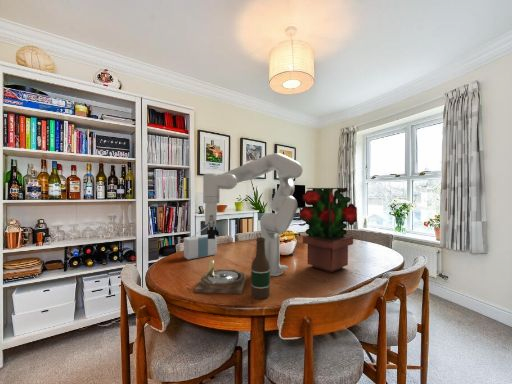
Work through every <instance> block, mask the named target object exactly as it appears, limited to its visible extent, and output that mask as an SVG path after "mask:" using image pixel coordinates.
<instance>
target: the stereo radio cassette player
mask: <svg viewBox="0 0 512 384" xmlns="http://www.w3.org/2000/svg"><path fill="white" fill-rule="evenodd" d="M206 228H208V225H206V227H204V228H202V229H200V230H199V231H198V232H196V233H195V234H194V235H192V236H187V237H183V257H184V258H185V259H186V260H188V261H190V260H193V259H194V260H195V259H200V258H203V257H205V258H206V257H210V256H215V255H216V254H217V252H218V251H217V250H218V238H217V237H218V236H217V235H215V239H208V234H202V235H198V234H199V233H201V232H202V231H203V230H205V229H206Z"/></svg>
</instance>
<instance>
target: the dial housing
mask: <svg viewBox="0 0 512 384" xmlns="http://www.w3.org/2000/svg"><path fill="white" fill-rule="evenodd" d="M218 271H232V272H235V273H237V274H238V280H235V281H232V282H229V283H216V282H210V281H208V275H209V271H207V272H205V273H204V274H202V276H201V278H200V282H199V283H198V284H197V286H196V287H195V289H194V290H195V293H202V294H203V293H204V294H205V293H207V294H208V293H210V294H238V295H240V294H241V295H242V294H243V290H244V288H245V283H246V281H247V276H248V274H247V273H244V272H241V271H239V270H237V269H235V268H234V269H228V268H218V269H214V272H218Z"/></svg>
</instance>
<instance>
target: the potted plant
mask: <svg viewBox="0 0 512 384" xmlns="http://www.w3.org/2000/svg"><path fill="white" fill-rule="evenodd" d="M306 189H308V190H306V191H305V193H303V194H301V195H302V196H301V200H302V202H305V204H306V205H307V206H305V205H304V206H302V208H301V207H299V220H302V221H303V222H304V223H305V224H306V225H308V229H305V234H307V235H302V244H306V245H307V265H311V266H312V269H317V270H320V271H322V272H326V273H329V274H331V273H335V272H337V271H340V270H341V269H343V268H344V267H346V266H348V265H349V246H352V245H354V237H353V236H349V235H347V234H348V233H347V230H346V228H347V227H348V225H349V226H353V225H354V224H355V223H357V221H358V216H357V215H358V212H357V211H358V209H357V208H358V207H357V206H355V205H354V203H349V202H351V197H350V196H345V195H343V194H342V193H347V191H348V187H306ZM348 203H349V204H348ZM347 224H348V225H347Z"/></svg>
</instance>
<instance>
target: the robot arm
mask: <svg viewBox="0 0 512 384" xmlns="http://www.w3.org/2000/svg"><path fill="white" fill-rule="evenodd" d="M272 171H276V173H277V174H276V175H277V177H278V181H279V186H278V188H277V191H276V192H275V194H274V196H273V199H272V200H271V203H270V208H271V210H272V211H274V212H275V213H274V212H267V213H264V214H263V215H262V216H261V217H260V221H259V225H260V232H261V237H262V238H265V255H266V258H267V260H268V262H269V264H270V277H278V276H280V275H282V274H283V271H284V270H285V271H289V266H287V265H282V264H281V262H280V255H281V254H280V253H281V251H280V250H281V249H280V241H281V239H280V235H281V234H284V233H285V232H287V231H288V229H289V227H290V225H291V223H292V221H293V219H294V218H295V217H294V216H296V213H297V210H298V201H297V199H296V198H295V197H294V196H293V195H294V192H295V182H294V179H297V178H298V179H299V178H300V177H301V176H302V174H303V166H302V164H300V163H299V162H298V161H296V160H294V159H293V158H290V157H288V156H286V155H284V154H282V153H279V152H277V153H275V152H274V153H271V154H268V155H267V154H266V155H264V156H262V157H260V158H259V157H258V158H256V159H255V160H252V161H249V162H247V163H245V164H243V165H240V166H237V167H236V168H232V169H230V170H227V171H225V172H223V173H220V174H219V173H214V172H213V173H212V172H211V173H205V174H203V177H202V182H203V183H202V184H203V185H202V189H203V190H202V202H203V204H205V205H204V225H205V226H208V227H207V235H208V239H215V236H216V229H215V226H216V224H217V217H218V216H217V213H218V204H220V196H221V195H220V192H221V191H220V190H232V189H234V188H236V187H237V185H238V184H239V183H242V182H246V181H247V182H248V181H251V180H254V179H257V178H259V177H261V176H263V175H266V174H268V173H270V172H272Z"/></svg>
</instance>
